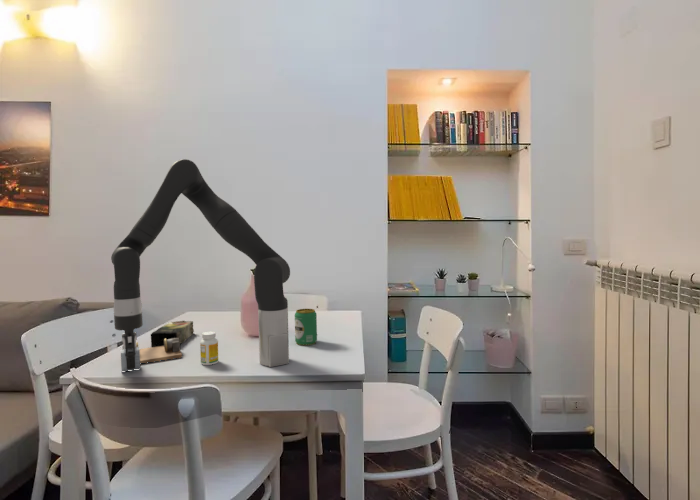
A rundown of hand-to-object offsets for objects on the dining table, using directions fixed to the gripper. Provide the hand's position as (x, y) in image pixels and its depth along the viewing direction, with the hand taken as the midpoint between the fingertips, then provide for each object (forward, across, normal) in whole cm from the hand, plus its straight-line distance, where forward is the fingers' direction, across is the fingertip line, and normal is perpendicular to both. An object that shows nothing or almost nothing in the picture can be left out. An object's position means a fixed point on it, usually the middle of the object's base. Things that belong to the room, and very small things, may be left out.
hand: (130, 364), depth 125 cm
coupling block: (+1, 0, 0) cm, 1 cm away
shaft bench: (+1, +10, -6) cm, 12 cm away
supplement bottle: (+2, -7, -22) cm, 23 cm away
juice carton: (+2, +27, -15) cm, 31 cm away
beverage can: (+2, -3, -57) cm, 57 cm away
